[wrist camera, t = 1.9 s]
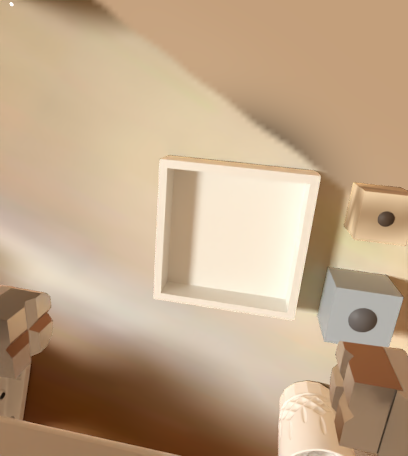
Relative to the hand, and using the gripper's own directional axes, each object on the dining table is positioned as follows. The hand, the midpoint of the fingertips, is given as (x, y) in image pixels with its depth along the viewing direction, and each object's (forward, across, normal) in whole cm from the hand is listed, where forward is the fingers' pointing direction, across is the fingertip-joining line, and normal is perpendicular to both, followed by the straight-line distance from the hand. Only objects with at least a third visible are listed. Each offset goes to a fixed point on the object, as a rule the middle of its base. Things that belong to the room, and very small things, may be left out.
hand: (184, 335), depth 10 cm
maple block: (+29, -12, +3) cm, 32 cm away
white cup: (+28, -10, +28) cm, 41 cm away
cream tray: (+28, +1, +7) cm, 29 cm away
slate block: (+29, -12, +13) cm, 34 cm away
